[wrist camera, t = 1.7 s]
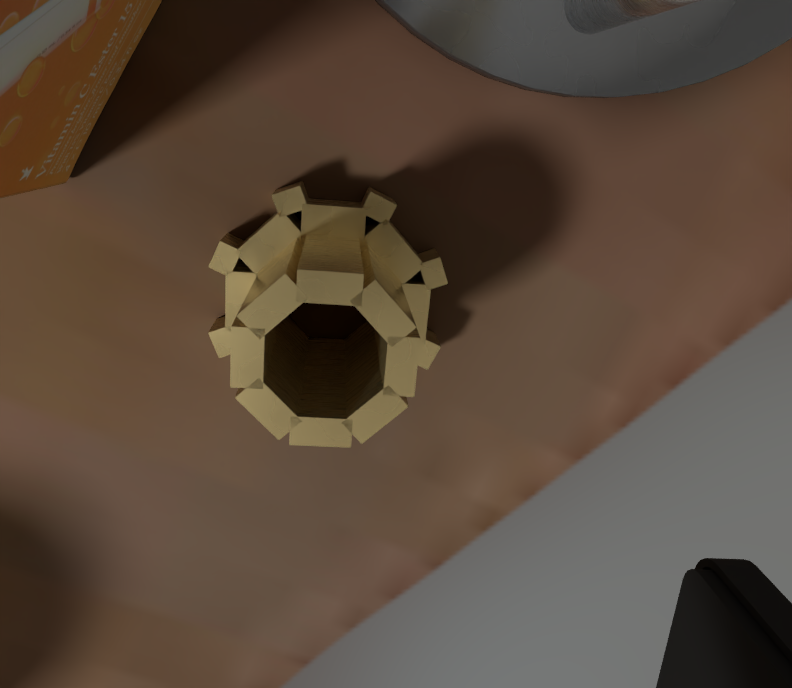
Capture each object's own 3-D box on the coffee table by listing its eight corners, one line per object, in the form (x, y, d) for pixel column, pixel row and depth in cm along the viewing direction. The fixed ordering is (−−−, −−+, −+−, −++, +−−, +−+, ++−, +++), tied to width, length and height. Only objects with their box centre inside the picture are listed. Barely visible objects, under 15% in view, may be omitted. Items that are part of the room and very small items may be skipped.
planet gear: (217, 173, 21) (168, 198, 15) (450, 193, 22) (492, 223, 16) (215, 392, 24) (172, 489, 18) (426, 403, 25) (455, 499, 18)
